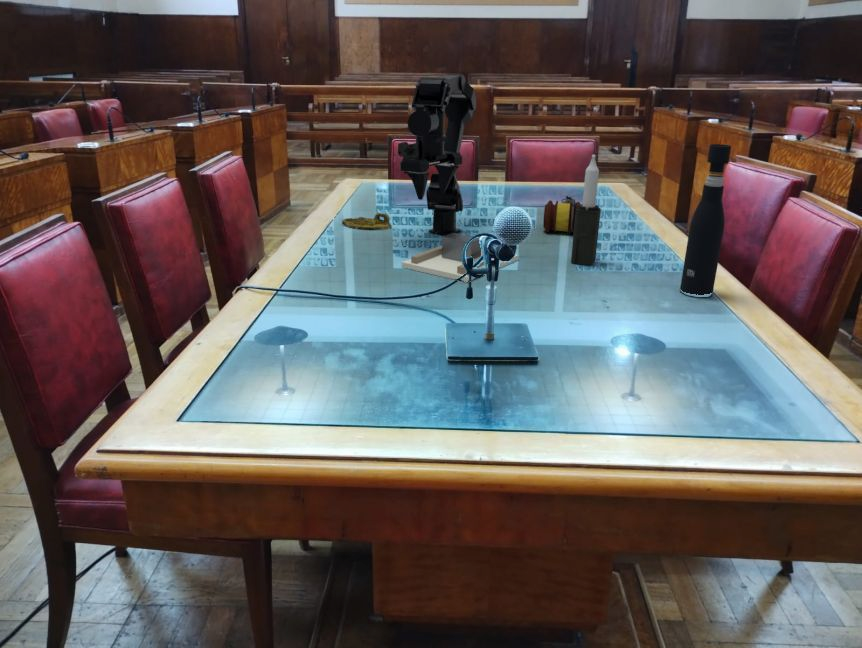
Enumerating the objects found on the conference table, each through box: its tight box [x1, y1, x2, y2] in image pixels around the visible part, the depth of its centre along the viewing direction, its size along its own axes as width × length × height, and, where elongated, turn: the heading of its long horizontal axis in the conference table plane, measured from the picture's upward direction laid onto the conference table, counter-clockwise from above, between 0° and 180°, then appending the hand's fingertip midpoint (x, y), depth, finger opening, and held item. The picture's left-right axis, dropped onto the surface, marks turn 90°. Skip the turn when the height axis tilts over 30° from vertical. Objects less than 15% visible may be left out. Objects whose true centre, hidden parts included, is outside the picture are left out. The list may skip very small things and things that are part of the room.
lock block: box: [441, 232, 482, 262], centre depth 160 cm, size 4×8×5 cm, turn 54°
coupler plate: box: [401, 244, 519, 283], centre depth 160 cm, size 22×18×3 cm
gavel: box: [542, 195, 581, 235], centre depth 198 cm, size 10×34×10 cm
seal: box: [341, 212, 392, 231], centre depth 193 cm, size 9×5×15 cm
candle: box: [570, 154, 602, 267], centre depth 159 cm, size 5×5×25 cm
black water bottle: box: [679, 143, 732, 295], centre depth 138 cm, size 6×6×30 cm
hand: (431, 196), depth 173 cm, fingers open, 9 cm apart
